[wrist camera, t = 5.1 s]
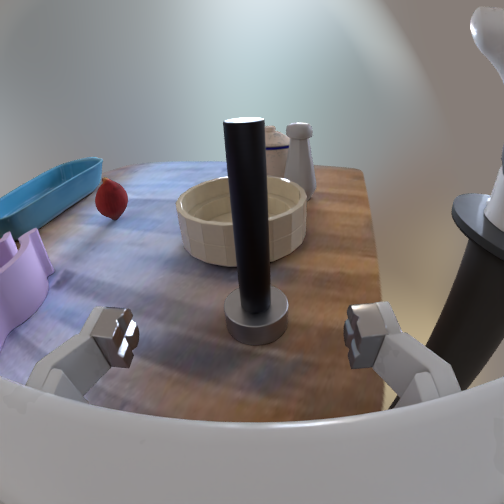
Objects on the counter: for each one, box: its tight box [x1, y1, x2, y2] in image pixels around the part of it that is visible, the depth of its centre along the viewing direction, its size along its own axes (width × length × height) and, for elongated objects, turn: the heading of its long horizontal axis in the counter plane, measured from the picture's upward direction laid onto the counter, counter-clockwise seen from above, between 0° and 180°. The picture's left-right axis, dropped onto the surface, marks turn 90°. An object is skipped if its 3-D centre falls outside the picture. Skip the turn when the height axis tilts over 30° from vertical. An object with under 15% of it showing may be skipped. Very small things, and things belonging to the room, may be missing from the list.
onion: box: [95, 177, 128, 220], centre depth 46 cm, size 6×6×8 cm
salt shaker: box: [284, 122, 316, 200], centre depth 47 cm, size 6×6×13 cm
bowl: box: [176, 175, 307, 267], centre depth 39 cm, size 16×16×6 cm
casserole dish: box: [0, 157, 103, 241], centre depth 55 cm, size 37×22×7 cm, turn 162°
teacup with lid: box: [265, 126, 290, 178], centre depth 53 cm, size 12×9×12 cm
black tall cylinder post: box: [223, 117, 288, 345], centre depth 22 cm, size 6×6×18 cm
